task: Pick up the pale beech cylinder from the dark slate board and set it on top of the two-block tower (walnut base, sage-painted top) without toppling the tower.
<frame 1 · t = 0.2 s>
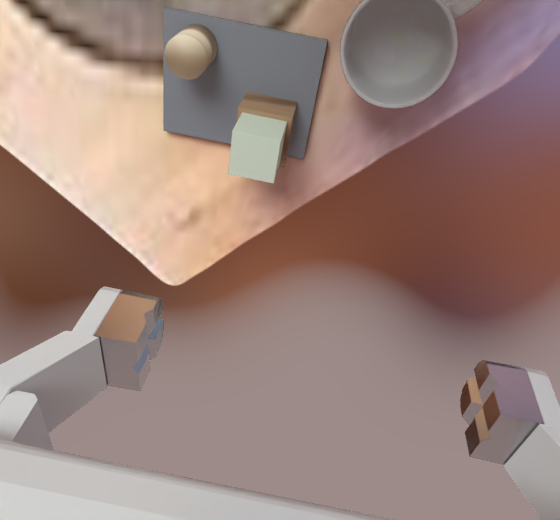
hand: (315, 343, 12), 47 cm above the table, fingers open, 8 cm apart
slate board: (240, 87, 56), on the table
sage top block: (261, 138, 53), point 6 cm above the table, touching walnut base block
walnut base block: (268, 121, 57), point 1 cm above the table, touching sage top block, slate board
teacup: (408, 24, 50), on the table
beech cylinder: (198, 45, 53), point 1 cm above the table, touching slate board
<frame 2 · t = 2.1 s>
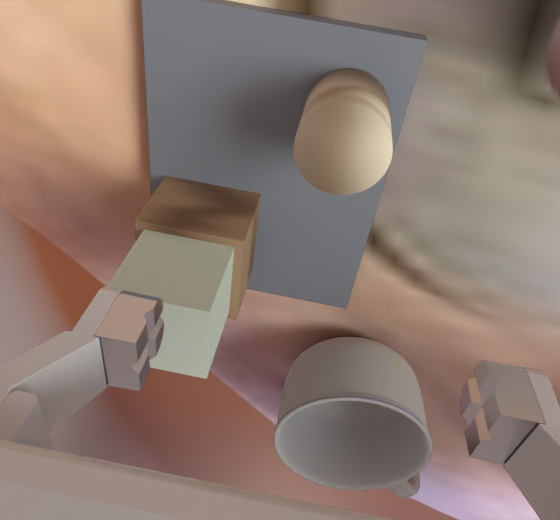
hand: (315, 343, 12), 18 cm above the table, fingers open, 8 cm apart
slate board: (265, 171, 29), on the table
sage top block: (188, 272, 27), point 6 cm above the table, touching walnut base block
walnut base block: (211, 224, 31), point 1 cm above the table, touching sage top block, slate board
teacup: (361, 372, 40), on the table
beech cylinder: (346, 110, 25), point 1 cm above the table, touching slate board
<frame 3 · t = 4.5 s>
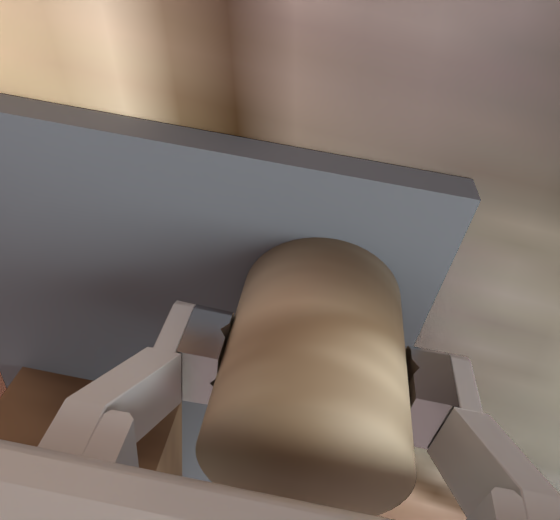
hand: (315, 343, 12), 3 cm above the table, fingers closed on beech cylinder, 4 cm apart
slate board: (189, 359, 17), on the table
walnut base block: (109, 427, 19), point 1 cm above the table, touching sage top block, slate board
beech cylinder: (320, 301, 13), point 1 cm above the table, touching gripper, slate board
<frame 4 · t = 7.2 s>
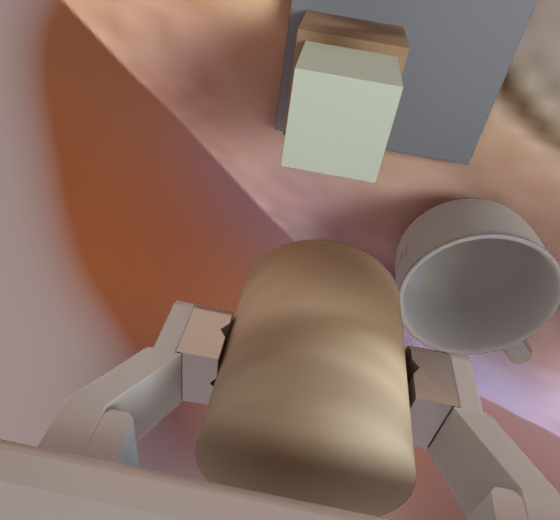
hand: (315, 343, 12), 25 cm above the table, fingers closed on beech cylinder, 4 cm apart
slate board: (407, 5, 29), on the table
sage top block: (341, 94, 27), point 6 cm above the table, touching walnut base block
walnut base block: (344, 68, 31), point 1 cm above the table, touching sage top block, slate board
teacup: (465, 249, 40), on the table
beech cylinder: (320, 303, 13), point 23 cm above the table, touching gripper
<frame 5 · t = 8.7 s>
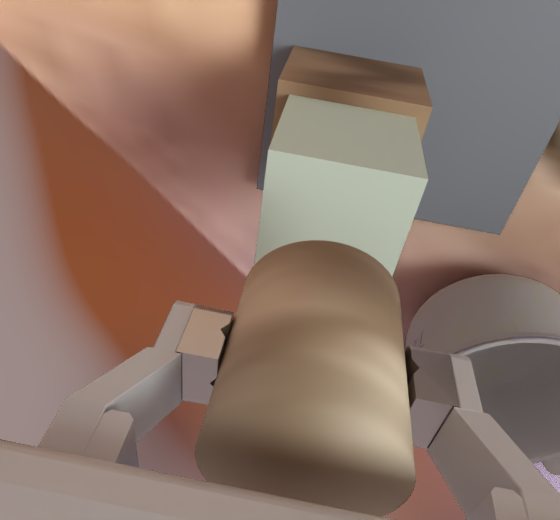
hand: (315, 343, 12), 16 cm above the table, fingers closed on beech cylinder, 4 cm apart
slate board: (426, 39, 22), on the table
sage top block: (339, 163, 20), point 6 cm above the table, touching walnut base block
walnut base block: (343, 118, 24), point 1 cm above the table, touching sage top block, slate board
teacup: (490, 325, 33), on the table
beech cylinder: (320, 303, 13), point 15 cm above the table, touching gripper
when the fingers open (14 cm above the table, at t = 10.0 s): beech cylinder drops 1 cm, resting on sage top block.
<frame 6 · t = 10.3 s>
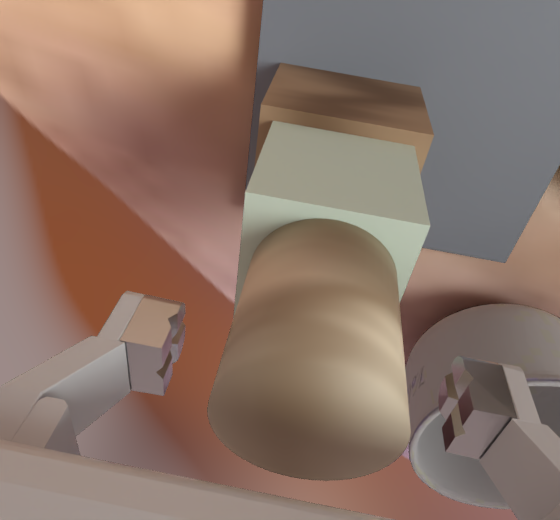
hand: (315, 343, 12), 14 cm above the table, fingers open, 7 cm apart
slate board: (425, 56, 20), on the table
sage top block: (329, 194, 18), point 6 cm above the table, touching beech cylinder, walnut base block
walnut base block: (336, 140, 22), point 1 cm above the table, touching sage top block, slate board
teacup: (494, 354, 31), on the table
beech cylinder: (321, 280, 14), point 11 cm above the table, touching sage top block
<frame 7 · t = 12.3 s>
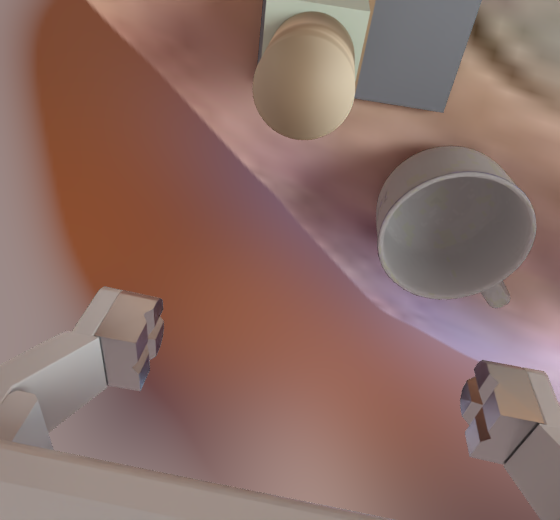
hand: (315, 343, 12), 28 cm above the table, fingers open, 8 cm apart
sage top block: (316, 34, 28), point 6 cm above the table, touching beech cylinder, walnut base block
teacup: (444, 202, 41), on the table
beech cylinder: (311, 59, 24), point 11 cm above the table, touching sage top block
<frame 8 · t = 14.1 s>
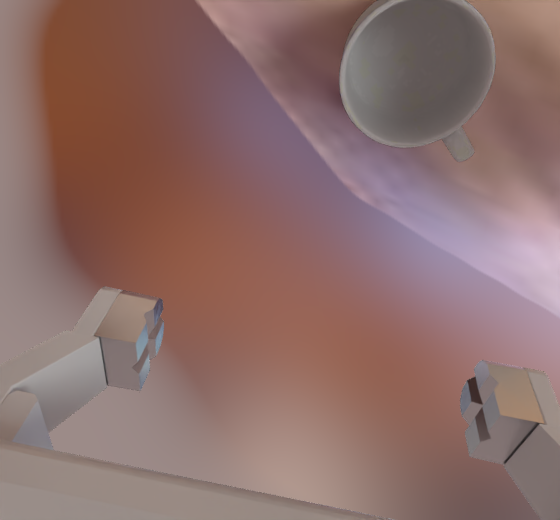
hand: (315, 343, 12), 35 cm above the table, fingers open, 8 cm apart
teacup: (413, 65, 41), on the table
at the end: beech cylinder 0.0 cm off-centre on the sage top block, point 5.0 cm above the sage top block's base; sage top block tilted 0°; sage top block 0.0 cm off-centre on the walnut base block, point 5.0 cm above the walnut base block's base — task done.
